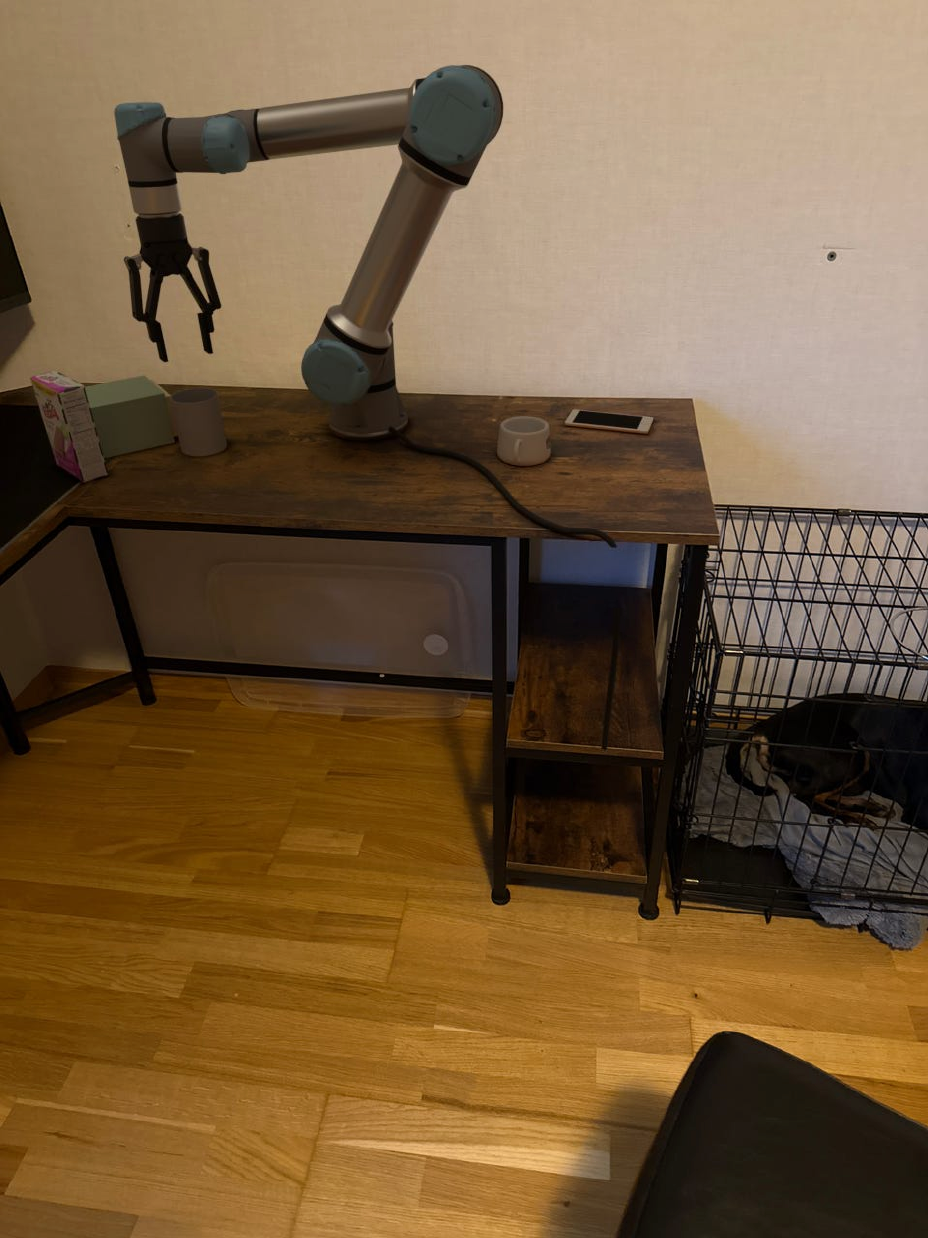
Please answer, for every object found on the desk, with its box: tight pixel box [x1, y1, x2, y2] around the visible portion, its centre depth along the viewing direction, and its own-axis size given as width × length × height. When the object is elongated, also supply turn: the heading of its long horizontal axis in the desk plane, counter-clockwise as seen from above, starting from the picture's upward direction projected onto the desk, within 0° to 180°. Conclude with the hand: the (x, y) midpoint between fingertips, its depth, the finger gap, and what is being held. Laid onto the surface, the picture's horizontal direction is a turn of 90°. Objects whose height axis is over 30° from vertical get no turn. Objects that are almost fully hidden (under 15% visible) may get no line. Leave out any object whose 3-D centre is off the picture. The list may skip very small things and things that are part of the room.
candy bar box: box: [29, 370, 109, 484], centre depth 148 cm, size 11×5×16 cm, turn 45°
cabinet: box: [85, 375, 176, 459], centre depth 162 cm, size 15×13×10 cm
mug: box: [496, 415, 552, 467], centre depth 152 cm, size 12×10×6 cm
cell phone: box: [564, 408, 654, 435], centre depth 168 cm, size 8×16×1 cm, turn 71°
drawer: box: [149, 379, 178, 438], centre depth 164 cm, size 18×11×8 cm, turn 124°
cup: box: [170, 387, 228, 457], centre depth 158 cm, size 8×8×10 cm
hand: (186, 355), depth 152 cm, fingers open, 7 cm apart
